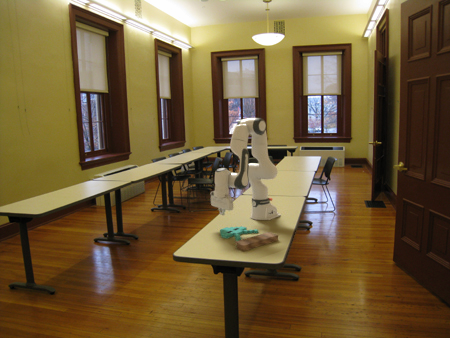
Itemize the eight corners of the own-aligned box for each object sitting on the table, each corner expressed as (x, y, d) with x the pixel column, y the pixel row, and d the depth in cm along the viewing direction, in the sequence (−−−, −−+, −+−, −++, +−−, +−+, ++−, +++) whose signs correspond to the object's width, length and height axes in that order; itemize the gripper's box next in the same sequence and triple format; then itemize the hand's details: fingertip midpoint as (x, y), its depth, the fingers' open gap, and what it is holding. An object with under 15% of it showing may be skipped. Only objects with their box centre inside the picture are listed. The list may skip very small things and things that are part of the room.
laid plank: (268, 237, 218) (268, 231, 218) (278, 240, 212) (278, 235, 212) (234, 247, 203) (234, 241, 203) (243, 251, 197) (243, 245, 196)
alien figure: (258, 233, 228) (233, 227, 240) (258, 229, 227) (232, 224, 240) (238, 242, 212) (213, 235, 225) (238, 238, 212) (213, 232, 225)
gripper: (235, 195, 227) (236, 217, 228) (216, 191, 243) (217, 211, 245) (227, 196, 223) (227, 218, 225) (208, 192, 239) (209, 212, 241)
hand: (222, 214), depth 235 cm, fingers closed
